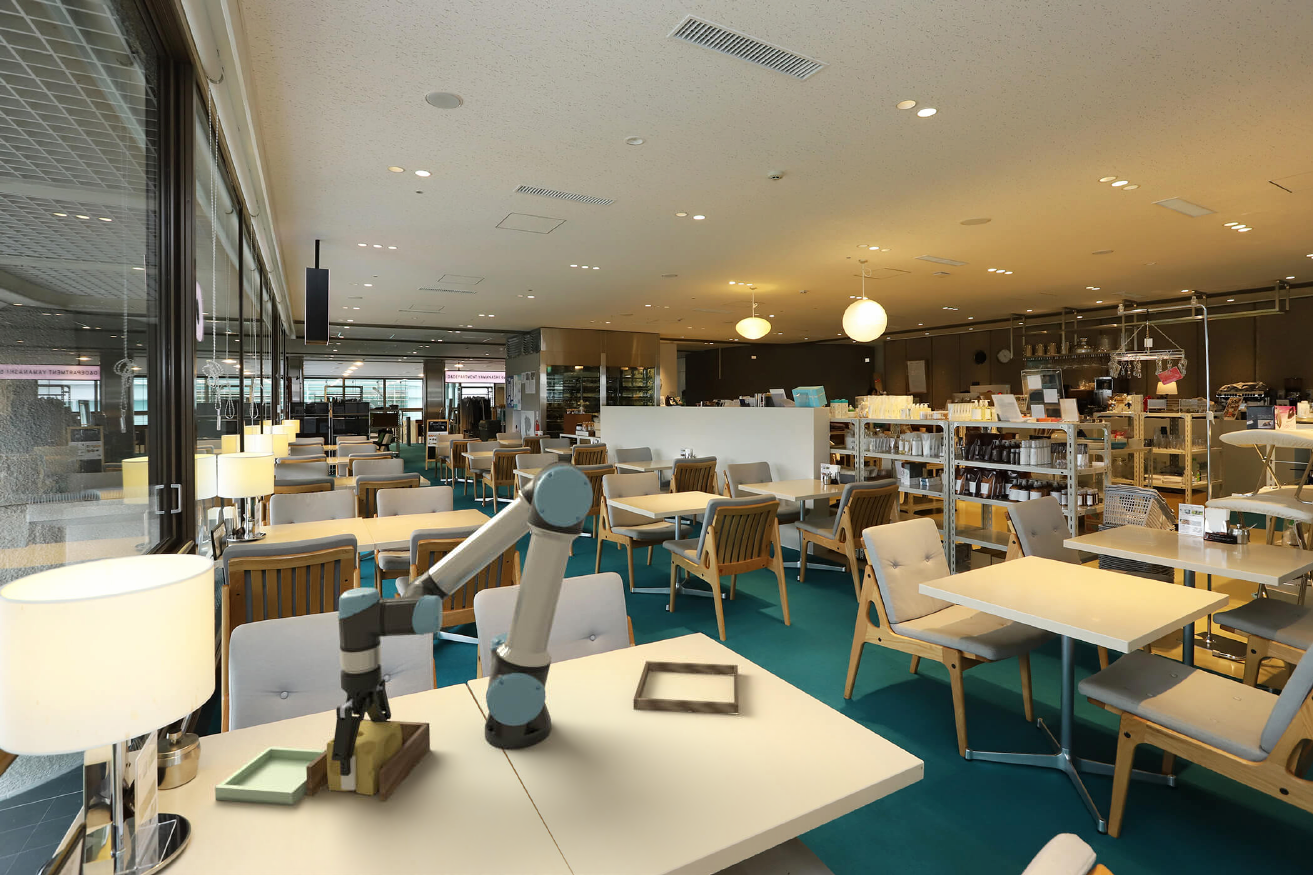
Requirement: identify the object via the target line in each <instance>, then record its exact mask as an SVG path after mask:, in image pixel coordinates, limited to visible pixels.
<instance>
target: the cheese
mask: <svg viewBox="0 0 1313 875" xmlns="http://www.w3.org/2000/svg"><path fill="white" fill-rule="evenodd" d="M333 744H334V737H333V738H332V739H331V740H329V741H328V742H326V749H327V775H328V782H327V783H328V790H329V791H337V792H350V791H351V792H352V790H344V789H341V774H340V761H333V760H332V752H333ZM401 748H402V732H401V725H400V722H373V721H361V722H360V727H359V731H358V735H357V739H356V743H355V747H354V752H353V756H356V786H357V788H356V789H355V790H356V793H357V794H361V795H367V796H370V797H371V796H374V795H375V794H376V793H377V792H378V790H379V791H380V786H379V771H380V770H381V769H382V768H383V767H384V766H385V765H386V764H387V762H388V761H389V760H390V759H391V758H392V757H393V756H394V755H395V754H396V753H397V752H398V751H399V750H400V749H401Z"/></svg>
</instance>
